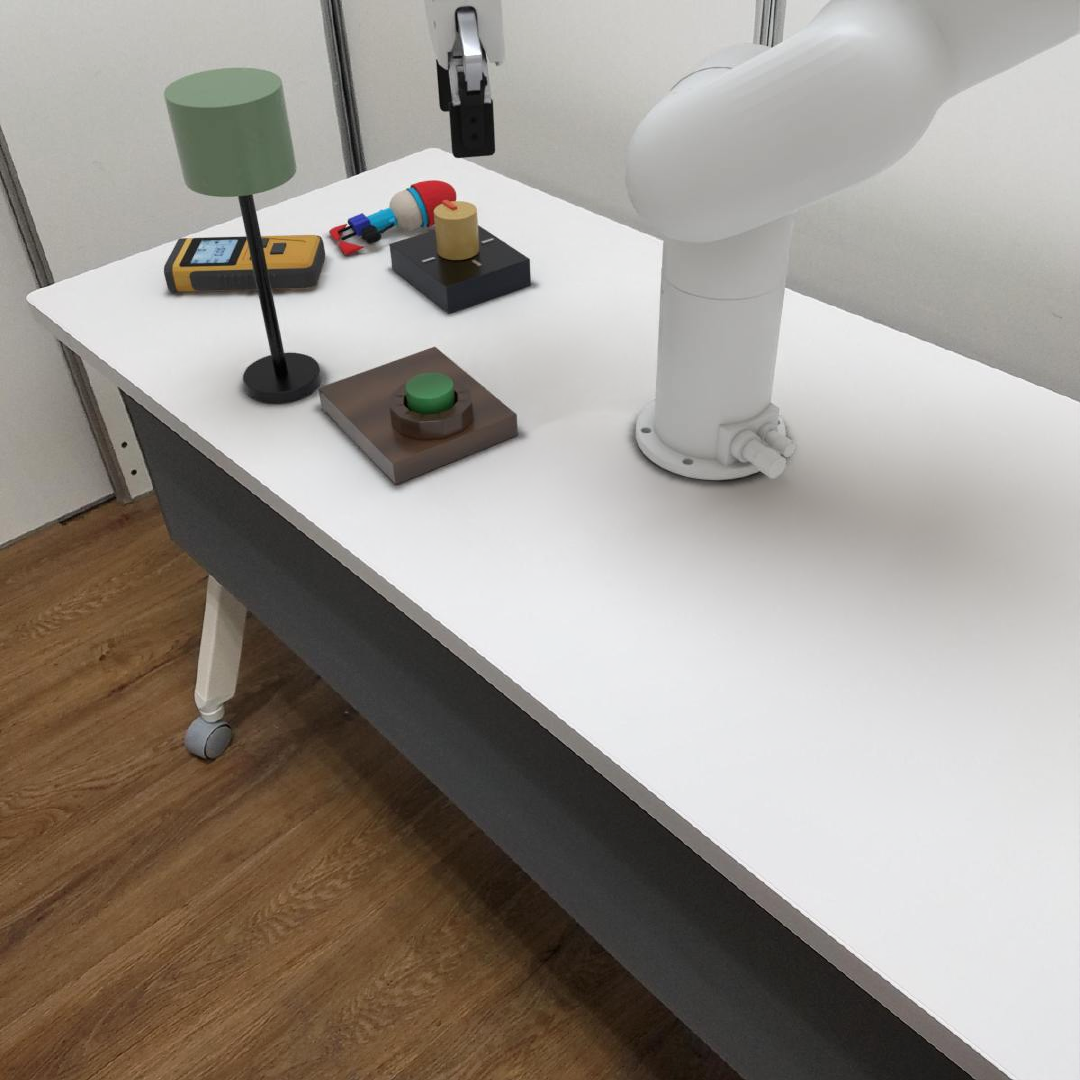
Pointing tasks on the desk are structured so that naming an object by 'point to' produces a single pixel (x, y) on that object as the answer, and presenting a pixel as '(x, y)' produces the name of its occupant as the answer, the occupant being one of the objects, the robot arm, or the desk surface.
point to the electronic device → (243, 263)
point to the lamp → (243, 188)
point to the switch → (430, 393)
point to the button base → (416, 416)
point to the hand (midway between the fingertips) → (466, 131)
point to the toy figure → (397, 214)
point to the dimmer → (456, 230)
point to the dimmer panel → (460, 270)
